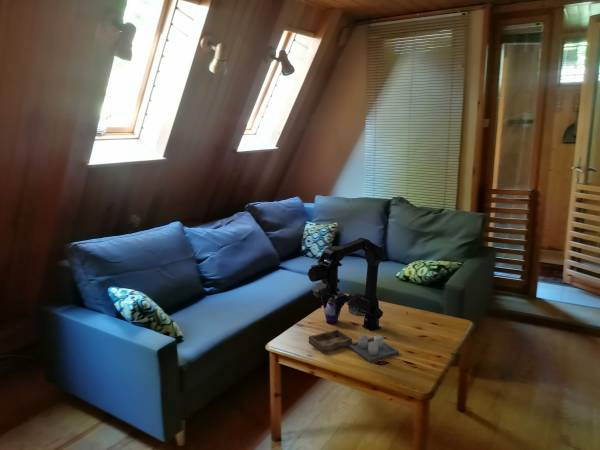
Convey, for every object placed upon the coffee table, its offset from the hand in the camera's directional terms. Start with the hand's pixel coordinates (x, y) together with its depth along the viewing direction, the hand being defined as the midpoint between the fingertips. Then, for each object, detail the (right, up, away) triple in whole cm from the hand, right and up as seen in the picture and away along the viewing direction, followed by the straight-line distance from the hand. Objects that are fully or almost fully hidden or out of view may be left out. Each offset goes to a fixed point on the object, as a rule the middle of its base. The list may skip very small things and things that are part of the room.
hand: (330, 311), depth 199 cm
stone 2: (+17, -16, -10) cm, 25 cm away
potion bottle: (+2, -10, +23) cm, 25 cm away
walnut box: (0, -14, 0) cm, 14 cm away
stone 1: (+13, -14, -4) cm, 20 cm away
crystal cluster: (+17, -7, +37) cm, 42 cm away
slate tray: (+17, -15, -5) cm, 24 cm away
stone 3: (+20, -14, -4) cm, 25 cm away
